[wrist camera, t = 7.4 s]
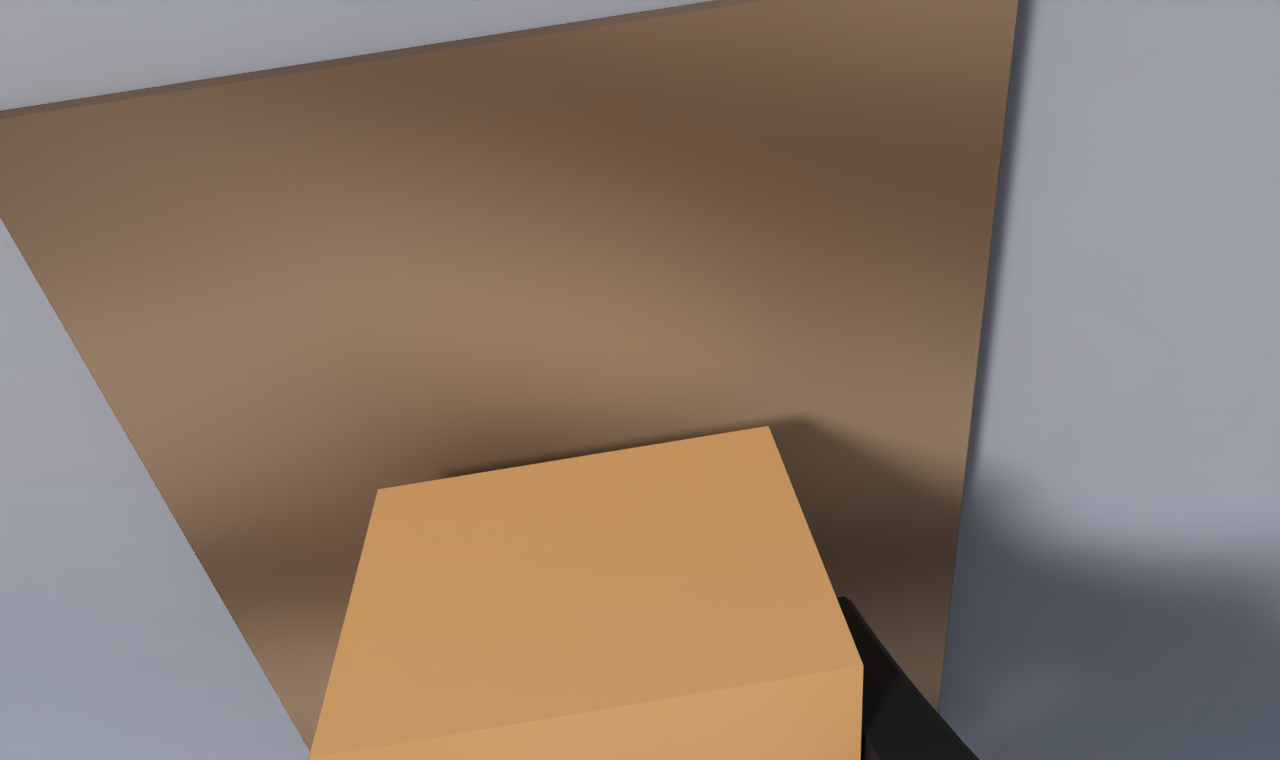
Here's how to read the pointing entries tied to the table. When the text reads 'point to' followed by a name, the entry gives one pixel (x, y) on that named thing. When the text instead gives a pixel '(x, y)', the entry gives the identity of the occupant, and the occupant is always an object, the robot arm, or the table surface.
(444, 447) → the post board
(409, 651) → the cardboard-colored cube
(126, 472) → the table surface
